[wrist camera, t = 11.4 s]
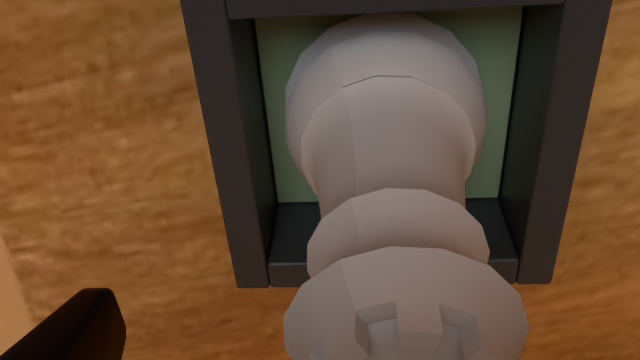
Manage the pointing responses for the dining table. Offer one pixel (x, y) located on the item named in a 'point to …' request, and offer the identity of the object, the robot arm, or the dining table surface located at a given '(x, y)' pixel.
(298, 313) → the rook chess piece
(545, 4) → the rack
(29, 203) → the dining table surface
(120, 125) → the dining table surface
